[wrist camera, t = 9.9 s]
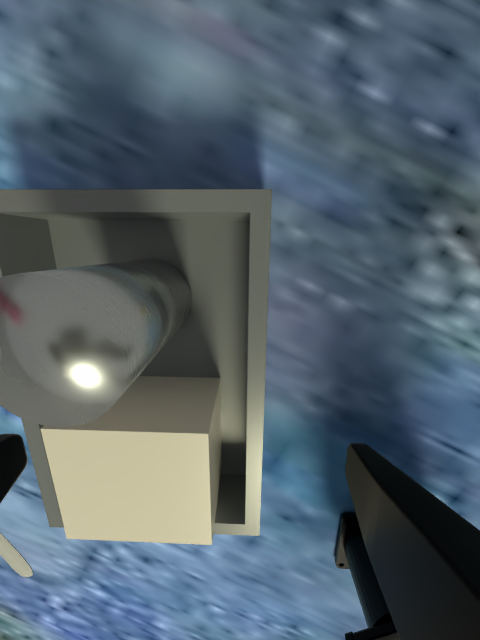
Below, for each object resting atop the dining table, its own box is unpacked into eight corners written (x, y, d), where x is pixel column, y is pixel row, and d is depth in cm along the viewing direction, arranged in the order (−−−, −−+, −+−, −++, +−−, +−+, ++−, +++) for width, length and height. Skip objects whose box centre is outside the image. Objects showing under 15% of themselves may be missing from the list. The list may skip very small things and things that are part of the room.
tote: (257, 474, 23) (259, 535, 18) (90, 469, 23) (49, 526, 19) (265, 205, 17) (272, 189, 12) (41, 205, 17) (-39, 189, 13)
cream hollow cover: (222, 464, 21) (211, 544, 16) (115, 461, 22) (66, 538, 16) (220, 377, 19) (208, 433, 14) (101, 375, 20) (40, 428, 14)
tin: (194, 334, 18) (135, 429, 9) (121, 333, 19) (-15, 425, 9) (190, 259, 17) (116, 273, 7) (112, 258, 17) (-61, 272, 8)
